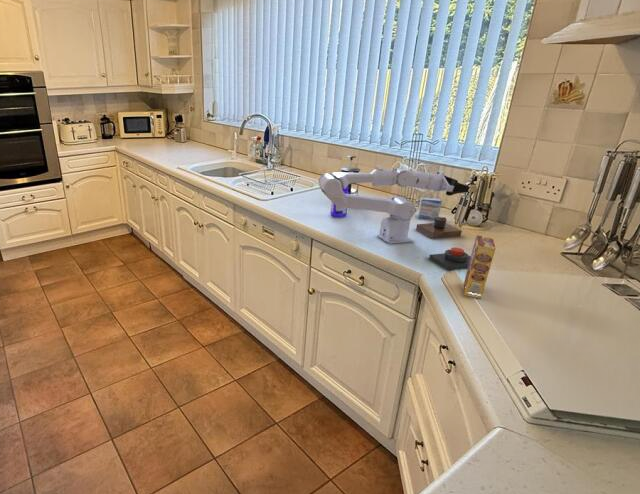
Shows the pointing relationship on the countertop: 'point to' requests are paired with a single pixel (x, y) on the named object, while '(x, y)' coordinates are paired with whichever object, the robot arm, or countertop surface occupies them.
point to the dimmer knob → (439, 222)
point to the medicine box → (429, 208)
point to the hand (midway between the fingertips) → (462, 186)
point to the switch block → (451, 260)
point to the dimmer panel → (438, 231)
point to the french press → (351, 169)
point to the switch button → (457, 251)
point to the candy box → (479, 265)
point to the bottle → (339, 211)
